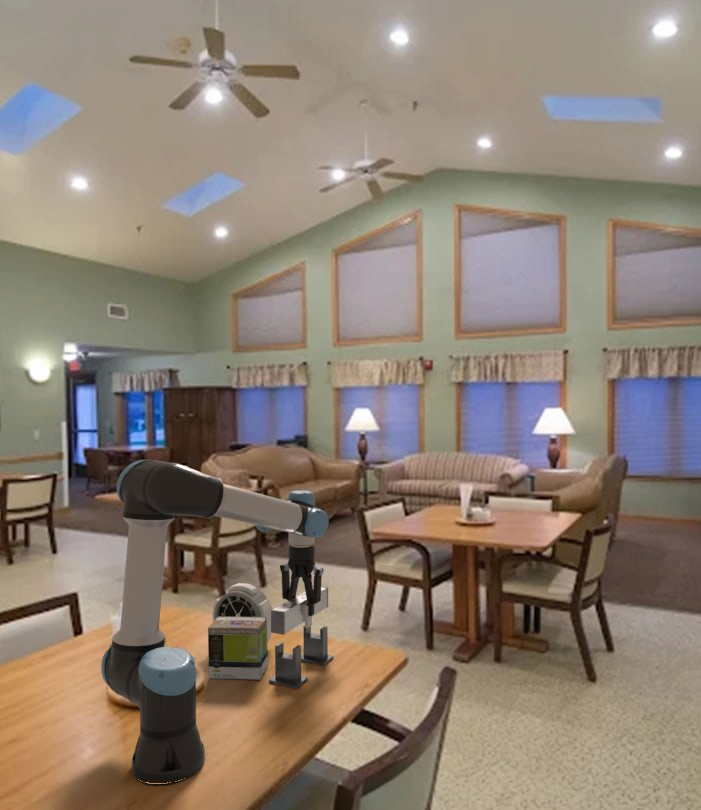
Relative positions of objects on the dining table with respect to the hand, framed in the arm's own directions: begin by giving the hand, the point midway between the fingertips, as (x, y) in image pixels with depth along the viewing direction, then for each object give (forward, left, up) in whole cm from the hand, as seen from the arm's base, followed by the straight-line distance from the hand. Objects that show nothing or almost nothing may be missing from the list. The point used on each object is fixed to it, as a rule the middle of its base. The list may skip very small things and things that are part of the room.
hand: (301, 625), depth 182 cm
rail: (0, 0, +2) cm, 2 cm away
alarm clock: (+6, +25, -13) cm, 29 cm away
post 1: (-8, 0, -13) cm, 15 cm away
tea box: (-9, +16, -13) cm, 22 cm away
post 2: (+8, 0, -13) cm, 16 cm away
